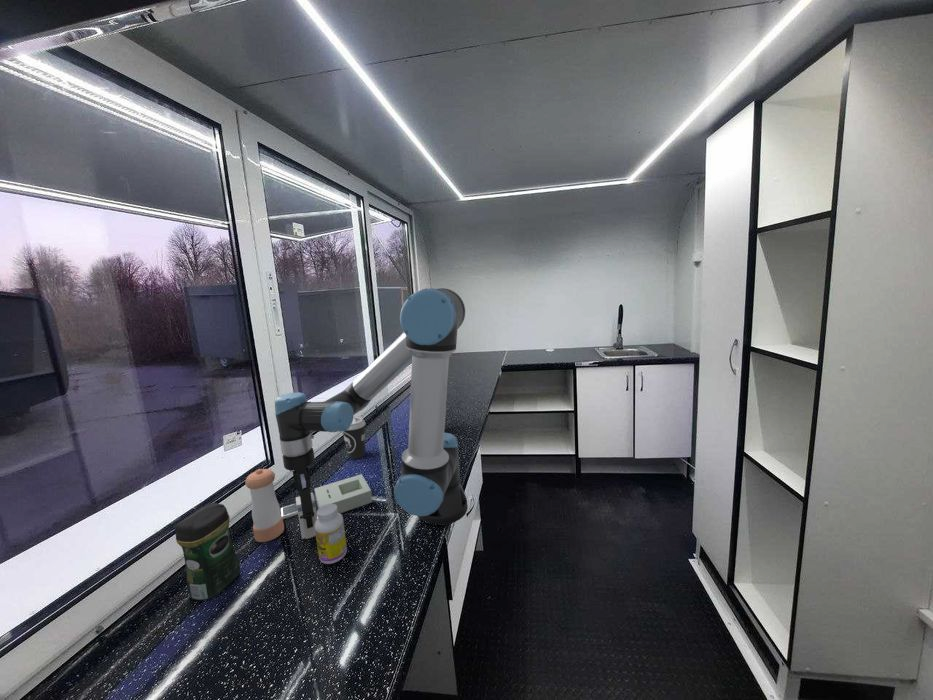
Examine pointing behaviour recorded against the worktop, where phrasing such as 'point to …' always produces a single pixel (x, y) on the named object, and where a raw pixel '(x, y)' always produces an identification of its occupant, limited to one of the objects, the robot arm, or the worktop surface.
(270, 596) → the worktop surface
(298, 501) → the block
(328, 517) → the supplement bottle
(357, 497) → the outlet plate
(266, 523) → the pepper shaker
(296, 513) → the phone
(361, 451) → the coffee cup
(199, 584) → the coffee jar
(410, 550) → the worktop surface
